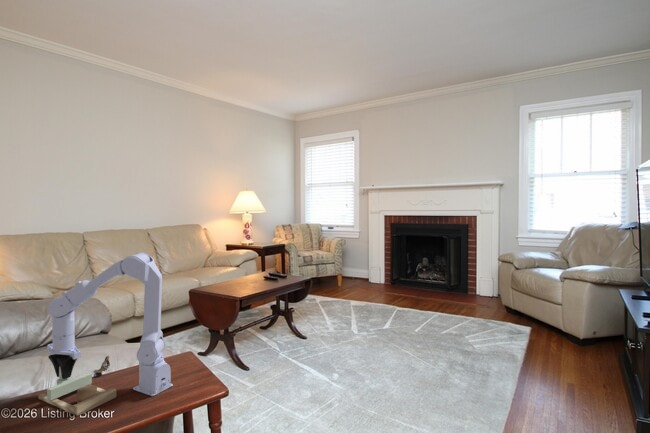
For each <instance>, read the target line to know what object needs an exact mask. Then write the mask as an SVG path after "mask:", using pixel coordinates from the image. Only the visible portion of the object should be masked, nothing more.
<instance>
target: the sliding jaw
mask: <svg viewBox="0 0 650 433" xmlns="http://www.w3.org/2000/svg"><path fill="white" fill-rule="evenodd" d="M92 383H93V374H92V373H89V372H87V373H84V374H81V375H79V376H76V377H72V376H71V377H69V378H66V379H63V378H62V375H61V368H60V366H59V377H58V379H56V385H53V386H50V387H48V388H47V389H46V394H47V399H49V400H53V399H55V398H56V399H58V398H60V397H62V396H65V395H68V394H70V393H73V392H75V391H77V390H78V389H80V388H82V387H84V386H86V385H89V384H90V385H92Z"/></svg>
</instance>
